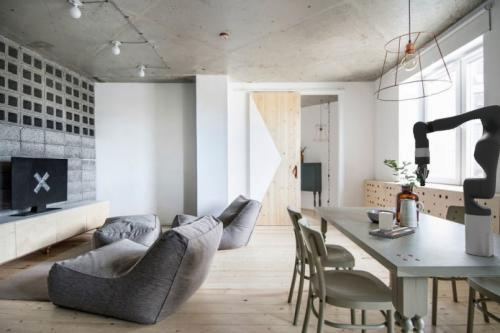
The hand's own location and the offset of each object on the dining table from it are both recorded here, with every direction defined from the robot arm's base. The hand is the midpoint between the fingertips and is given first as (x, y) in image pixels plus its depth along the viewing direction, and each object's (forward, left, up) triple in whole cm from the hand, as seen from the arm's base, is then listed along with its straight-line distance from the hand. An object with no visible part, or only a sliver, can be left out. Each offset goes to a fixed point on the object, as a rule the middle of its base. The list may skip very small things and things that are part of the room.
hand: (422, 186), depth 164 cm
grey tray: (+11, +14, -27) cm, 32 cm away
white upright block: (+11, +20, -25) cm, 34 cm away
